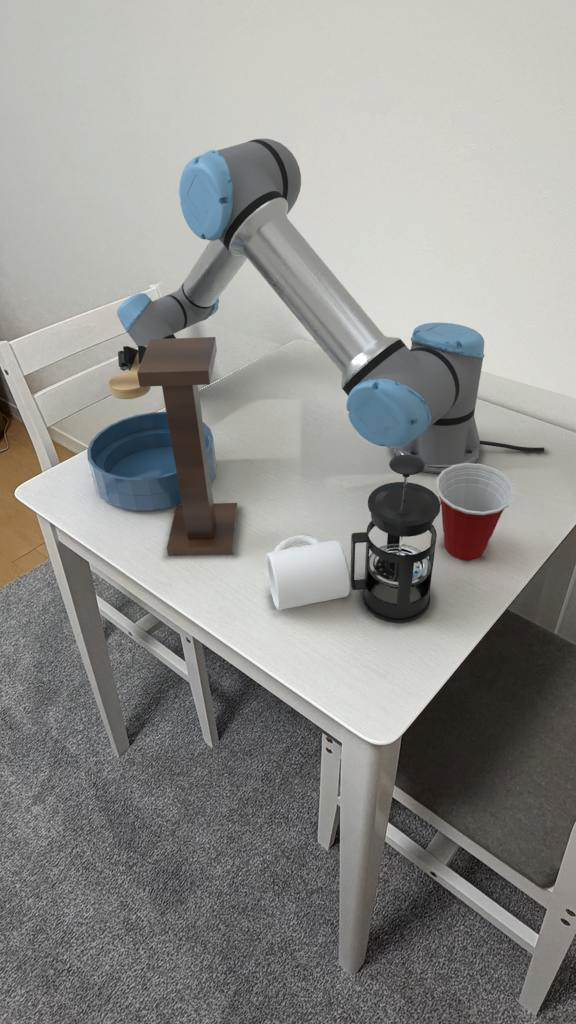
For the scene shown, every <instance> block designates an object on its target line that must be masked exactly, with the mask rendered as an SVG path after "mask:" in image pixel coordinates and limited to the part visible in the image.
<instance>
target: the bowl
mask: <svg viewBox="0 0 576 1024" xmlns="http://www.w3.org/2000/svg"><path fill="white" fill-rule="evenodd" d="M203 428H204V435H205V443H206V450H207V458H208V465H209V473H210V480H211V484H212V483H213V481H214V479H215V478H216V475H217V468H218V464H217V458H216V450H215V449H216V447H215V440H214V435H213V432H212V430H211V428H210V427H209V426H208V425H207V424H206V423H205V422H204V421H203ZM86 455H87V462H88V465H89V469H90V473H91V478H92V481H93V484H94V489H95V490H96V492H97V493H98V496H99V497H100V498H101V499H103V500H104V501H105V502H107V503H108V504H110V505H112V506H115V507H117V508H120V509H123V510H131V511H138V512H141V511H142V512H143V511H157V510H163V509H167V508H173V507H176V504H182V502H181V496H180V490H179V484H178V478H177V472H176V466H175V460H174V454H173V448H172V443H171V437H170V431H169V425H168V419H167V413H166V411H156V412H155V411H154V412H147V413H141V414H135V415H132V416H128V417H124V418H123V419H120V420H118V421H116V422H113V423H111V424H109V425H108V426H106V427H105V428H104V429H103V428H102V430H100V431H99V432H98V433H97V434H96V435H95V436H94V437H93V438H92V440H90V443H89V444H88V447H87V449H86Z"/></svg>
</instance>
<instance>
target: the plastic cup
mask: <svg viewBox="0 0 576 1024" xmlns="http://www.w3.org/2000/svg"><path fill="white" fill-rule="evenodd" d="M435 481H436V482H435V490H436V492H437V494H438V496H439V497H438V498H439V500H440V505H441V506H440V509H441V520H442V532H443V539H444V546H445V550H446V551H447V553H448V555H450V556H451V557H453V558H455V559H458V560H461V561H473V560H477V559H479V558H481V557H482V555H483V554H484V552H485V550H486V549H487V547H488V544H489V542H490V539H491V538H492V536H493V535H494V531H495V530H496V527H497V525H498V523H499V520H500V517H501V515H502V514H503V512H504V511H505V509H507V508H508V507H509V506H510V504H511V503H512V501H513V499H514V497H516V495H515V486H514V484H513V482H512V480H511V479H510V478H509V476H507V475H506V474H505V473H503V472H501V471H500V470H499V469H497V468H494V467H492V466H489V465H486V464H483V463H463V464H457V465H453V466H451V467H449V468H447V469H445V470H443V471H442V472H441V473H439V474H438V476H437V478H436V480H435Z"/></svg>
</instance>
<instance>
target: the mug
mask: <svg viewBox="0 0 576 1024" xmlns="http://www.w3.org/2000/svg"><path fill="white" fill-rule="evenodd" d="M303 544H306V545H303ZM296 545H301V546H296ZM292 546H295V547H292ZM265 561H266V562H265V563H266V564H265V565H266V573H267V578H268V585H269V589H270V593H271V598H272V600H273V603H274V606H275V608H276V610H277V611H282V610H286V609H291V608H296V607H301V606H302V607H303V606H306V605H311V604H316V603H321V602H322V603H323V602H326V601H330V600H337V599H343V598H346V597H348V596H349V594H350V592H351V591H350V590H351V582H350V569H349V565H348V560H347V557H346V554H345V551H344V548H343V546H342V544H341V543H340V542H339V540H336V539H334V540H328V541H321V540H320V539H319V538H317V537H315V536H311V535H307V534H298V535H293V536H290V537H287V538H286V539H284V540H282V541H281V542H280V543H279V544H278V545H276V546H275V548H274V549H273V550H272V551H268V552H266V555H265Z"/></svg>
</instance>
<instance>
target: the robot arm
mask: <svg viewBox="0 0 576 1024" xmlns="http://www.w3.org/2000/svg"><path fill="white" fill-rule="evenodd" d="M301 186H302V174H301V167H300V166H299V163H298V160H297V158H296V157H295V155H294V154H293V152H292V151H290V149H289V148H288V147H287V146H286V145H284V144H283V143H281V142H279V141H276V140H274V139H271V138H255V139H251V140H248V141H246V142H242V143H238V144H234V145H231V146H227V147H224V148H221V149H218V150H215V149H210V150H207V151H205V152H204V153H202V154H199V155H197V156H195V157H193V158H191V159H190V160H189V161H188V162H187V163H186V165H185V166H184V168H183V170H182V172H181V175H180V180H179V188H178V195H179V199H180V202H179V204H180V209H181V212H182V215H183V218H184V220H185V223H186V224H187V226H188V227H189V229H190V231H192V233H193V234H194V235H195V236H197V237H198V238H200V239H202V240H204V241H205V240H206V241H209V242H208V243H207V244H206V246H205V248H204V250H203V251H202V253H201V254H200V256H199V257H198V259H197V260H196V262H195V263H194V265H193V267H192V268H191V270H190V271H189V273H188V275H187V276H186V278H185V279H184V281H183V282H182V284H181V286H180V287H179V288H178V289H177V290H175V291H174V292H171V293H168V294H167V295H164V296H162V297H160V298H157V299H155V300H152V298H151V297H150V296H149V295H148V294H146V293H145V292H141V293H140V292H138V293H136V294H133V295H132V296H130V297H128V298H127V299H125V300H124V301H123V302H122V303H121V304H120V305H119V306H118V308H117V311H116V316H117V318H118V319H119V322H120V323H121V326H122V327H123V329H124V330H125V332H126V333H127V334H128V335H129V337H130V338H131V340H132V341H133V343H135V346H136V347H137V348H135V347H131V346H129V345H125V346H123V347H122V349H123V350H119V351H117V361H118V367H119V368H120V371H123V372H125V371H127V370H128V372H130V370H131V368H132V365H133V363H134V360H135V358H136V355H137V353H138V357H139V364H141V361H142V359H143V356H144V354H145V351H146V349H147V347H144V346H148V344H149V341H150V339H172V338H177V337H176V335H175V334H176V333H179V332H181V331H183V330H185V329H187V328H190V327H192V326H194V325H196V324H198V323H200V322H203V321H206V320H208V319H209V318H210V317H211V316H214V314H216V313H217V311H218V309H219V303H220V297H221V295H222V293H223V292H224V291H225V290H226V288H227V287H228V285H229V284H230V283H231V281H232V280H233V279H234V277H235V276H236V275H237V273H238V272H239V271H240V269H241V268H242V267H243V266H244V264H245V263H246V261H247V260H248V261H249V262H250V263H251V264H252V266H253V267H254V268H255V270H257V272H258V273H259V275H260V276H262V278H263V279H264V280H265V281H266V283H267V284H268V285H269V287H270V288H271V289H272V290H273V292H274V293H275V294H276V295H277V296H278V297H279V299H280V300H281V301H282V302H283V303H284V305H285V306H286V308H288V309H289V311H290V312H291V313H292V314H293V315H294V317H295V318H296V319H297V320H298V322H299V323H300V324H301V325H302V326H303V328H304V329H305V330H306V331H307V333H308V334H309V335H310V336H311V337H312V339H313V340H314V341H315V342H316V343H317V345H318V346H319V348H320V349H322V351H323V353H324V354H325V355H326V356H327V357H328V358H329V359H330V360H331V362H332V363H333V364H334V365H335V366H336V368H337V369H338V370H339V371H340V373H341V385H340V386H341V387H340V388H341V390H343V392H344V393H345V394H346V396H347V400H346V411H347V412H348V414H347V416H348V420H349V422H350V424H351V426H352V427H353V428H354V430H355V431H356V432H357V433H358V434H359V435H360V436H361V437H362V438H363V439H365V440H366V441H368V442H369V443H371V444H373V445H375V446H378V447H386V448H389V449H393V453H394V456H395V457H396V456H399V455H413V456H416V457H419V458H420V459H422V460H423V461H424V463H425V468H424V470H423V471H422V472H424V473H429V474H430V473H431V474H441V472H442V471H443V470H445V469H447V468H449V467H451V466H453V465H457V464H463V463H474V464H476V462H477V460H478V459H479V456H480V449H481V446H488V447H489V446H490V447H495V448H503V449H508V450H513V451H519V452H531V453H532V452H535V453H536V452H537V453H541V452H545V447H529V446H528V447H526V446H520V445H519V446H518V445H513V444H508V443H503V442H502V443H501V442H495V441H489V440H488V441H487V440H480V436H479V432H478V427H477V423H476V418H475V411H476V405H477V399H478V394H479V393H478V392H479V387H480V381H481V375H482V374H481V373H482V367H483V362H484V358H485V353H484V352H485V351H484V350H485V339H484V337H483V336H482V334H481V333H480V332H479V331H477V330H475V329H473V328H472V327H468V326H466V325H462V324H457V323H451V322H426V323H422V324H420V325H418V326H416V327H415V328H414V329H413V331H412V335H411V337H410V342H411V346H410V348H409V347H408V346H407V345H406V344H405V342H404V341H403V340H402V339H401V337H395V336H394V337H393V336H387V335H385V334H384V333H383V331H381V329H380V328H379V327H378V326H377V324H376V323H375V322H374V321H373V320H372V319H371V317H370V316H369V315H368V314H367V313H366V311H365V310H364V309H363V308H362V306H361V305H360V304H359V303H358V302H357V300H356V299H355V298H354V297H353V295H352V294H351V293H350V292H349V291H348V289H346V287H345V286H344V285H343V284H342V282H341V281H340V280H339V279H338V277H337V276H336V275H335V274H334V272H332V269H330V268H329V267H328V265H327V263H325V261H323V259H322V258H321V257H320V256H319V255H318V253H317V252H316V251H315V250H314V248H313V247H312V246H311V244H310V243H309V242H308V240H306V239H305V238H304V236H303V235H302V234H301V232H300V231H299V230H298V229H297V228H296V226H295V225H294V224H293V223H292V221H290V219H289V218H288V215H289V213H290V212H291V211H292V209H293V207H294V206H295V204H296V202H297V200H298V198H299V195H300V192H301V188H302V187H301Z"/></svg>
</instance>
